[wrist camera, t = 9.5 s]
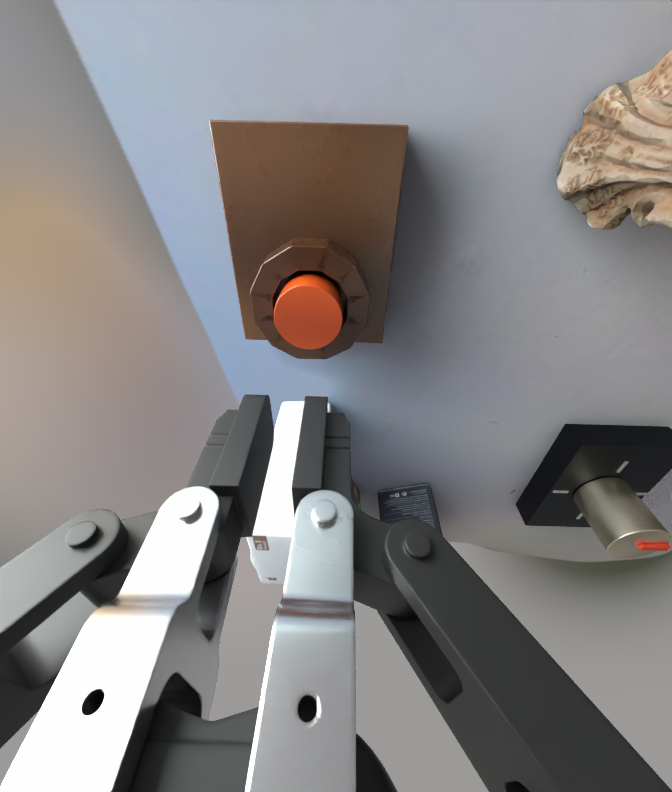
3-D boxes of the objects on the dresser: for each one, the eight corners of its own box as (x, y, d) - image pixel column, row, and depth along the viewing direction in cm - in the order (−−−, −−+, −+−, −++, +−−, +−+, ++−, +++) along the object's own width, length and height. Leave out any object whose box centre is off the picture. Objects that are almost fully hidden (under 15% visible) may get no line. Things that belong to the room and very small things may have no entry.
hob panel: (565, 423, 28) (583, 446, 26) (668, 426, 28) (695, 449, 26) (515, 504, 36) (526, 527, 33) (597, 506, 36) (613, 529, 33)
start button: (275, 272, 17) (270, 283, 16) (343, 274, 17) (343, 285, 16) (281, 334, 19) (276, 348, 18) (341, 335, 19) (341, 350, 18)
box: (376, 490, 34) (386, 601, 26) (430, 481, 33) (459, 594, 25) (390, 528, 39) (403, 633, 31) (438, 521, 38) (465, 628, 30)
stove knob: (565, 505, 31) (599, 561, 27) (586, 476, 29) (627, 533, 24) (611, 506, 31) (653, 562, 27) (637, 476, 28) (687, 534, 24)
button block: (222, 122, 16) (193, 117, 13) (402, 127, 16) (416, 122, 13) (253, 328, 23) (238, 357, 20) (379, 331, 23) (384, 361, 20)
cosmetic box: (332, 449, 31) (328, 587, 21) (285, 448, 31) (259, 586, 21) (331, 397, 27) (324, 538, 17) (277, 397, 27) (241, 537, 17)
